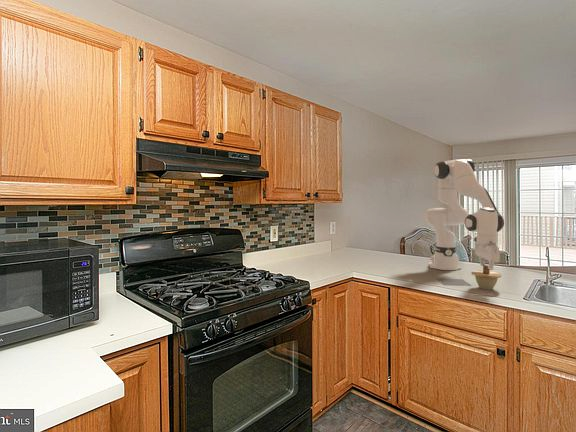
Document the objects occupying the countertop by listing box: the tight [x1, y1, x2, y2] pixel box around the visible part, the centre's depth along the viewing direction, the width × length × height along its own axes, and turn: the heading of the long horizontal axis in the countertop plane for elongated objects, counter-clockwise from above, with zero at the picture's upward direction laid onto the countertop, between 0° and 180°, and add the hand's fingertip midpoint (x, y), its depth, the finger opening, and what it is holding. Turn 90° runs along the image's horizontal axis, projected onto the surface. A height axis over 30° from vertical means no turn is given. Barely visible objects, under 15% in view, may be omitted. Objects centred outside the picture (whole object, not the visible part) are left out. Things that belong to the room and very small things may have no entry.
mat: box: [436, 278, 473, 287], centre depth 184 cm, size 14×14×1 cm
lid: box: [471, 264, 502, 279], centre depth 171 cm, size 13×13×5 cm
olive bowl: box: [474, 276, 499, 291], centre depth 171 cm, size 10×10×7 cm
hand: (486, 267), depth 171 cm, fingers open, 8 cm apart
